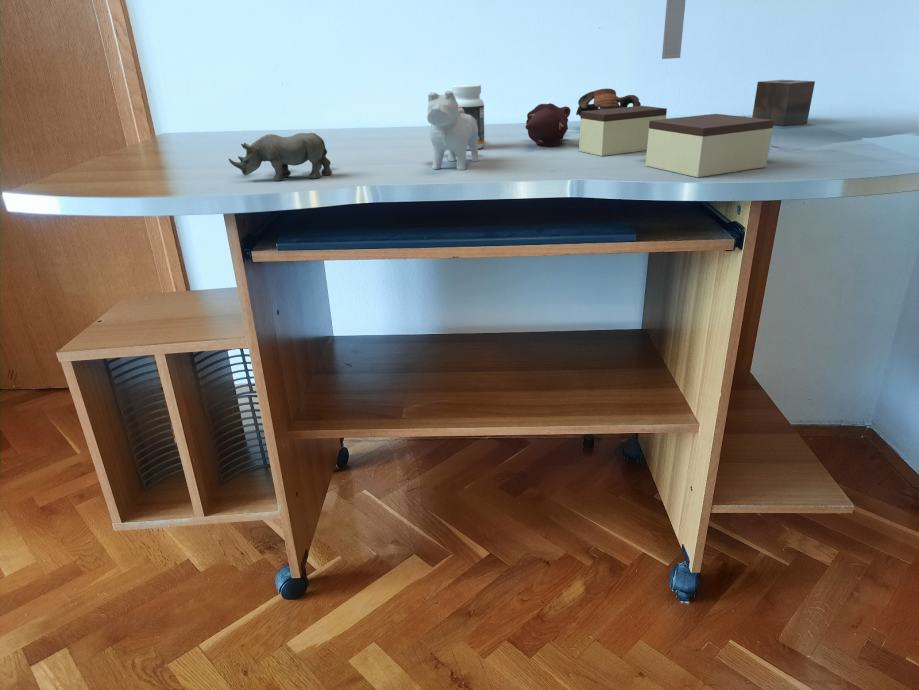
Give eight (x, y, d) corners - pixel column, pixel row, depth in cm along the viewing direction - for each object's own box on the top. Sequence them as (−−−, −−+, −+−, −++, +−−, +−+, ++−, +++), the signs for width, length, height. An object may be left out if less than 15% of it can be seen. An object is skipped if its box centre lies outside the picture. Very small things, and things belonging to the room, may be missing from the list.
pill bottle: (449, 150, 107) (446, 87, 103) (454, 145, 112) (451, 84, 108) (482, 150, 106) (481, 86, 102) (486, 144, 111) (485, 83, 107)
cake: (766, 167, 86) (774, 120, 83) (697, 177, 81) (703, 128, 79) (710, 156, 94) (716, 113, 91) (645, 165, 89) (649, 120, 87)
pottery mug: (579, 135, 120) (571, 93, 121) (584, 151, 129) (577, 112, 130) (644, 117, 117) (635, 74, 117) (645, 134, 126) (637, 94, 126)
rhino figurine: (235, 178, 91) (227, 134, 89) (332, 172, 93) (327, 129, 90) (230, 184, 88) (221, 139, 85) (331, 178, 89) (326, 133, 87)
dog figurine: (421, 174, 90) (415, 93, 85) (449, 158, 100) (446, 85, 96) (457, 175, 88) (453, 92, 83) (482, 158, 99) (480, 84, 94)
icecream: (553, 110, 98) (589, 109, 110) (512, 97, 101) (552, 97, 113) (540, 155, 102) (577, 149, 113) (501, 141, 104) (541, 136, 116)
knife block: (806, 129, 115) (815, 81, 111) (782, 132, 112) (790, 83, 109) (773, 125, 120) (781, 79, 117) (750, 128, 118) (757, 81, 115)
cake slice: (663, 148, 102) (667, 108, 99) (601, 156, 97) (604, 114, 95) (638, 143, 107) (641, 105, 104) (578, 151, 102) (580, 111, 100)
